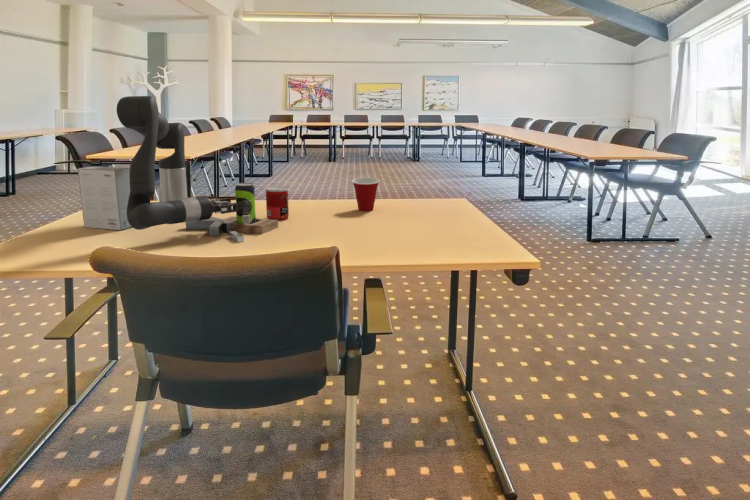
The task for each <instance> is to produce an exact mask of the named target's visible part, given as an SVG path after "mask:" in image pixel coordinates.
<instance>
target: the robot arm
mask: <svg viewBox="0 0 750 500" xmlns="http://www.w3.org/2000/svg"><path fill="white" fill-rule="evenodd" d="M116 115H117V119H118V120H119V122H120V123H121V125H122V126H123V127H124V128H127V129H131V130H133V131H135V132H137V133H139V134H140V135H141V136H143V137H144V138H143V140H142V142H141V144H140V146H139V148H138V150H137V152H136V153H135V154H134V156H133V158H132V160H131V162H130V165H129V168H130V171H129V177H130V195H129V199H128V205H127V219H128V222H129V224H130V226H131V227H130V228H133V229H134V230H137V231H139V230H140V231H141V230H145V229H148V228H151V227H157V226H161V225H174V224H182V223H183V224H184V223H186V222H194V221H201V220H207V219H210V218H211V217H213V216H212V215H213V214H230V213H236V212H238V209H245V208H246V202H236V201H235V202H232V199H231V198H220V199H219V198H209V197H208V196H206V195H200V196H193V197H188V188H187V187H188V185H187V175H186V157H185V155H186V154H185V129H184V127H183V125H182V124H181V123H178V122H176V123H175V122H171V123H170V122H169V121H168V120H167V118H166V117H165V116H164V115H163V114H162V113H161V112H159V106H158V103H157V101H156V98H154V97H153V96H151V95H134V96H130V95H129V96H123V97H122V98H120V99H119V100H118V102H117V103H116ZM157 149H162V150H172V149H173V150H174V152H173V153H172V154H171V155H169V156H167V157H163V158H161V159H160V160H159V161H158V169H159V183H160V184H159V185H160V187H159V188H158V201H155V202H152V200H151V199H152V197H153V196H154V195H155V194H156V193H155V192H156V175H155V174H156V172H155V171H156V170H155V165H156V164H155V162H156V153H157V151H156V150H157Z"/></svg>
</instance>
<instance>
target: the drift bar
mask: <svg viewBox="0 0 750 500" xmlns="http://www.w3.org/2000/svg"><path fill="white" fill-rule="evenodd" d="M228 237H229V238H230V239H232V240H234V241H235V242H237V243H241V242H242V243H243V242H245V236H244V235H243V234H241V233H240V232H236V231H231V232H228Z"/></svg>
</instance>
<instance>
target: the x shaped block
mask: <svg viewBox="0 0 750 500" xmlns="http://www.w3.org/2000/svg"><path fill="white" fill-rule="evenodd" d="M224 219H225V218H219V217H214V216H211V218H210V219H207V220H201V221H194V222H185V230H208V232H209V233H208V234H209V235H208V236H209V237H219V236H220V235H221V234H222V233H229V232H231V231H233V224H234V222H232V221H228V220H224Z"/></svg>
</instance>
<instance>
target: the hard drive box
mask: <svg viewBox="0 0 750 500" xmlns="http://www.w3.org/2000/svg"><path fill="white" fill-rule="evenodd" d="M129 171H130V167H123V166H122V167H121V166H120V167H119V166H87V167H80V168H79V167H78V168H77V174H78V183H79V185H78V186H79V194H80V201H81V210H82V218H83V219H82V221H83V227H84V228H91V229H101V230H102V229H103V230H111V231H122V230H126V229H129V228H132V227H131V226H130V224H129V222H128V219H127V205H128V199H129V195H130V177H129Z"/></svg>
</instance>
